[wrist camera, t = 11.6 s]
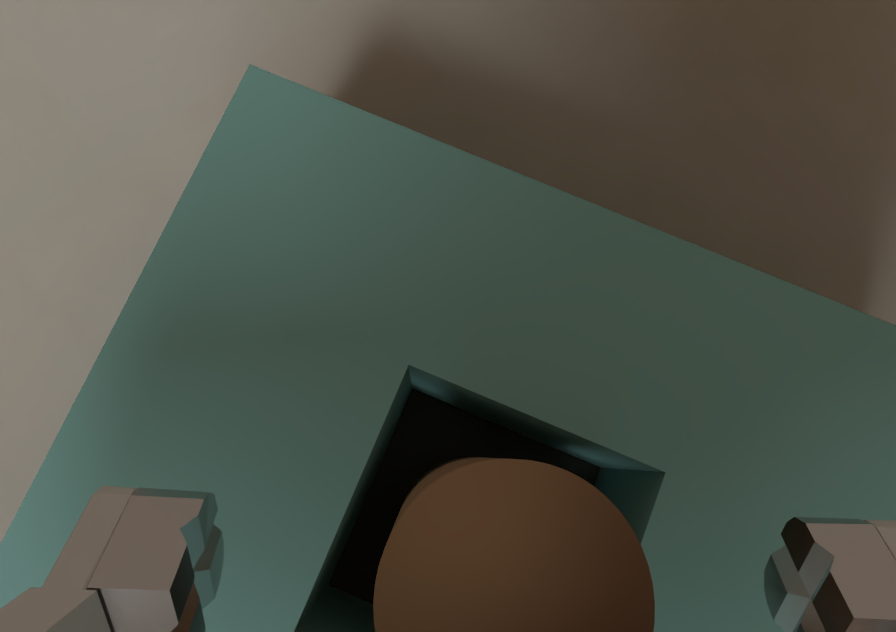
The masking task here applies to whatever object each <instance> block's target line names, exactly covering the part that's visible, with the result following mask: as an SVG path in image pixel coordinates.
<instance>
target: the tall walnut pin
mask: <svg viewBox="0 0 896 632" xmlns="http://www.w3.org/2000/svg"><path fill="white" fill-rule="evenodd" d="M373 611H374V626H375V632H653V630H654V623H655V599H654V590H653V582H652V578H651V574H650V570H649V565H648V562H647V560H646V557H645V554H644V551H643V549H642V546H641V544H640V542H639V540H638V538H637V536H636V535H635V533H634V531H633V529H632V527H631V526H630V525H629V523H628V522H627V520H626V519H625V517H624V516H623V514H622V513H621V512H620V511H619V510H618V509H617V507H616V506H615V505H614V504H613V503H612V502H611V501H610V500H609V499H608V498H607V497H606V496H605V495H604V494H603V493H601V492H600V491H599V490H598V489H597V488H596V487H594V486H593V485H591V484H590V483H588V482H587V481H585V480H584V479H582V478H581V477H579V476H577V475H575V474H573V473H571V472H569V471H567V470H565V469H562V468H559V467H556V466H553V465H550V464H547V463H542V462H537V461H532V460H520V459H503V458H482V457H455V458H450V459H446V460H444V461H441V462H439V463H437V464H435V465H433V466H431V467H430V468H428V469H427V470H425V471H424V472H423V473H422V474H421V475H420V476H419V477H418V478H417V479H416V481H415V482H414V483H413V485H412V486H411V488H410V489H409V491H408V493H407V495H406V497H405V500H404V502H403V505H402V507H401V510H400V512H399V514H398V517H397V519H396V522H395V524H394V526H393V529H392V531H391V534H390V536H389V539H388V541H387V543H386V546H385V549H384V552H383V554H382V557H381V560H380V563H379V567H378V571H377V576H376V581H375V588H374V600H373Z"/></svg>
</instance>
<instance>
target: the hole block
mask: <svg viewBox="0 0 896 632" xmlns="http://www.w3.org/2000/svg"><path fill="white" fill-rule="evenodd" d="M412 388H413V389H415V390H417V391H420V392H422V393H424V394H427V395H429V396H432V397H434V398H436V399H439V400H441V401H444V402H446V403H448V404H451V405H453V406H455V407H458V408H460V409H463V410H465V411H467V412H470V413H472V414H474V415H477V416H479V417H482V418H484V419H486V420H489V421H491V422H493V423H496V424H498V425H501V426H503V427H505V428H508V429H510V430H512V431H515V432H517V433H520V434H522V435H524V436H527V437H529V438H531V439H534V440H536V441H539V442H541V443H543V444H546V445H548V446H550V447H553V448H555V449H558V450H560V451H562V452H565V453H567V454H569V455H572V456H574V457H577V458H579V459H581V460H584V461H586V462H588V463H591V464H593V465H596V466H598V467H600V471H599V473H598V476H597V479H596V481H595V484H594V487H596V488H597V489H598V490H599V491H600V492H601V493H603V494H604V495H605V496H606V497H607V498H608V499H609V500H610V501H611V502H612V503H613V504H614V505H615V506H616V507H617V509H618V510H619V511H620V512H621V513H622V514H623V516H624V517H625V519H626V520H627V522H628V523H629V525H630V526H631V527H632V529H633V531H634V533H635V535H636V536H637V538H638V540H639V542H640V544H641V546H642V549H643V551H644V554H645V557H646V560H647V562H648V565H649V570H650V574H651V578H652V582H653V590H654V599H655V623H654V630H653V632H785V631H784V630H783V629H782V628H781V627H780V626H779V625H778V624H777V623H776V622H774V621H773V618H772V616H771V613H770V610H769V608H768V605H767V602H766V597H765V592H764V570H765V567H766V565H767V562H768V560H769V558H770V555H771V554H772V553H774V552H775V551H777V550H778V549H780V548H781V547H783V546H785V542H784V540H783V538H782V536H781V532H782V530H783V528H784V526H785V524H786V522H787V521H789V520H790V519H792V518H793V517H817V518H849V519H861V520H888V521H896V326H895V325H893V324H890V323H888V322H885V321H883V320H880V319H878V318H875V317H873V316H870V315H868V314H866V313H863V312H861V311H858V310H856V309H853V308H851V307H848V306H846V305H843V304H841V303H838V302H836V301H833V300H831V299H828V298H826V297H824V296H821V295H819V294H816V293H814V292H811V291H809V290H806V289H804V288H801V287H799V286H796V285H794V284H791V283H789V282H786V281H784V280H782V279H779V278H777V277H774V276H772V275H769V274H767V273H764V272H762V271H759V270H757V269H754V268H752V267H749V266H747V265H744V264H742V263H740V262H737V261H735V260H732V259H730V258H727V257H725V256H722V255H720V254H717V253H715V252H712V251H710V250H707V249H705V248H702V247H700V246H698V245H695V244H693V243H690V242H688V241H685V240H683V239H680V238H678V237H675V236H673V235H670V234H668V233H665V232H663V231H660V230H658V229H656V228H653V227H651V226H648V225H646V224H643V223H641V222H638V221H636V220H633V219H631V218H628V217H626V216H623V215H621V214H618V213H616V212H614V211H611V210H609V209H606V208H604V207H601V206H599V205H596V204H594V203H591V202H589V201H586V200H584V199H581V198H579V197H577V196H574V195H572V194H569V193H567V192H564V191H562V190H559V189H557V188H554V187H552V186H549V185H547V184H544V183H542V182H539V181H537V180H535V179H532V178H530V177H527V176H525V175H522V174H520V173H517V172H515V171H512V170H510V169H507V168H505V167H502V166H500V165H497V164H495V163H493V162H490V161H488V160H485V159H483V158H480V157H478V156H475V155H473V154H470V153H468V152H465V151H463V150H460V149H458V148H455V147H453V146H451V145H448V144H446V143H443V142H441V141H438V140H436V139H433V138H431V137H428V136H426V135H423V134H421V133H418V132H416V131H413V130H411V129H409V128H406V127H404V126H401V125H399V124H396V123H394V122H391V121H389V120H386V119H384V118H381V117H379V116H376V115H374V114H371V113H369V112H367V111H364V110H362V109H359V108H357V107H354V106H352V105H349V104H347V103H344V102H342V101H339V100H337V99H334V98H332V97H329V96H327V95H325V94H322V93H320V92H317V91H315V90H312V89H310V88H307V87H305V86H302V85H300V84H297V83H295V82H292V81H290V80H287V79H285V78H283V77H280V76H278V75H275V74H273V73H270V72H268V71H265V70H263V69H260V68H258V67H255V66H253V65H249V67H248V69H247V71H246V73H245V74H244V76H243V78H242V80H241V82H240V84H239V86H238V88H237V90H236V92H235V94H234V96H233V98H232V100H231V101H230V103H229V105H228V107H227V109H226V111H225V113H224V115H223V117H222V119H221V121H220V123H219V125H218V126H217V128H216V130H215V132H214V134H213V136H212V138H211V140H210V142H209V144H208V146H207V148H206V150H205V152H204V153H203V155H202V157H201V159H200V161H199V163H198V165H197V167H196V169H195V171H194V173H193V175H192V177H191V178H190V180H189V182H188V184H187V186H186V188H185V190H184V192H183V194H182V196H181V198H180V200H179V202H178V204H177V205H176V207H175V209H174V211H173V213H172V215H171V217H170V219H169V221H168V223H167V225H166V227H165V229H164V230H163V232H162V234H161V236H160V238H159V240H158V242H157V244H156V246H155V248H154V250H153V252H152V254H151V256H150V257H149V259H148V261H147V263H146V265H145V267H144V269H143V271H142V273H141V275H140V277H139V279H138V281H137V282H136V284H135V286H134V288H133V290H132V292H131V294H130V296H129V298H128V300H127V302H126V304H125V306H124V308H123V309H122V311H121V313H120V315H119V317H118V319H117V321H116V323H115V325H114V327H113V329H112V331H111V333H110V334H109V336H108V338H107V340H106V342H105V344H104V346H103V348H102V350H101V352H100V354H99V356H98V358H97V360H96V361H95V363H94V365H93V367H92V369H91V371H90V373H89V375H88V377H87V379H86V381H85V383H84V385H83V386H82V388H81V390H80V392H79V394H78V396H77V398H76V400H75V402H74V404H73V406H72V408H71V410H70V412H69V413H68V415H67V417H66V419H65V421H64V423H63V425H62V427H61V429H60V431H59V433H58V435H57V437H56V438H55V440H54V442H53V444H52V446H51V448H50V450H49V452H48V454H47V456H46V458H45V460H44V462H43V464H42V465H41V467H40V469H39V471H38V473H37V475H36V477H35V479H34V481H33V483H32V485H31V487H30V489H29V491H28V492H27V494H26V496H25V498H24V500H23V502H22V504H21V506H20V508H19V510H18V512H17V514H16V516H15V517H14V519H13V521H12V523H11V525H10V527H9V529H8V531H7V533H6V535H5V537H4V539H3V541H2V543H1V544H0V609H1V608H2V607H4V606H5V605H6V604H8V603H9V602H11V601H12V600H13V599H15V598H16V597H18V596H19V595H20V594H22V593H23V592H24V591H26V590H27V589H29V588H30V587H37V588H42V586H43V584H44V582H45V580H46V578H47V577H48V575H49V573H50V571H51V569H52V567H53V566H54V564H55V562H56V560H57V558H58V557H59V555H60V553H61V551H62V549H63V547H64V546H65V544H66V542H67V540H68V538H69V536H70V535H71V533H72V531H73V529H74V527H75V525H76V524H77V522H78V520H79V518H80V516H81V514H82V513H83V511H84V509H85V507H86V505H87V503H88V502H89V500H90V498H91V496H92V495H93V494H94V493H95V492H96V491H97V490H98V489H99V488H100V487H101V486H118V487H135V488H139V487H140V488H154V489H169V490H183V491H198V492H210V493H214V494H215V499H216V503H217V507H218V511H217V514H216V517H215V520H214V523H213V524H214V525H215V526H217V527H218V528H219V529H220V530H221V531H222V535H223V541H224V561H223V567H222V574H221V580H220V583H219V587H218V590H217V593H216V597H215V599H214V600H213V601H212V602H210V603H209V604H208V605H207V606H206V607H205V608H204V609H203V610H202V612H203V616H204V621H205V626H206V629H205V632H375V626H374V611H373V604H370V603H368V602H366V601H364V600H361V599H359V598H357V597H354V596H352V595H350V594H347V593H345V592H343V591H341V590H338V589H336V588H334V587H331V586H329V583H330V581H331V578H332V576H333V573H334V571H335V569H336V566H337V564H338V562H339V559H340V557H341V555H342V552H343V550H344V548H345V545H346V543H347V541H348V538H349V536H350V534H351V531H352V529H353V527H354V524H355V522H356V519H357V517H358V515H359V512H360V510H361V508H362V505H363V503H364V501H365V498H366V496H367V494H368V491H369V489H370V487H371V484H372V482H373V480H374V477H375V475H376V473H377V470H378V468H379V466H380V463H381V461H382V458H383V456H384V454H385V451H386V449H387V447H388V444H389V442H390V440H391V437H392V435H393V433H394V430H395V428H396V426H397V423H398V421H399V419H400V416H401V414H402V412H403V409H404V407H405V404H406V402H407V400H408V397H409V395H410V393H411V390H412Z"/></svg>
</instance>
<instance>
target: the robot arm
mask: <svg viewBox="0 0 896 632" xmlns="http://www.w3.org/2000/svg"><path fill="white" fill-rule="evenodd" d="M217 511H218V507H217V503H216V499H215V494H214V493H210V492H198V491H183V490H169V489H154V488H140V487H139V488H135V487H118V486H101V487H100V488H99V489H98V490H97V491H96V492H95V493H94V494H93V495H92V496H91V498H90V500H89V502H88V503H87V505H86V507H85V509H84V511H83V513H82V514H81V516H80V518H79V520H78V522H77V524H76V525H75V527H74V529H73V531H72V533H71V535H70V536H69V538H68V540H67V542H66V544H65V546H64V547H63V549H62V551H61V553H60V555H59V557H58V558H57V560H56V562H55V564H54V566H53V567H52V569H51V571H50V573H49V575H48V577H47V578H46V580H45V582H44V584H43V586H42V588H37V587H30V588H29V589H27V590H26V591H24V592H23V593H22V594H20V595H19V596H18V597H16V598H15V599H13V600H12V601H11V602H9V603H8V604H6V605H5V606H4V607H2V608H1V609H0V632H205V629H206V626H205V621H204V616H203V612H202V610H203V609H204V608H205V607H206V606H207V605H208V604H209V603H210V602H212V601H213V600H214V599H215V597H216V593H217V590H218V587H219V583H220V580H221V574H222V567H223V561H224V541H223V535H222V531H221V530H220V529H219V528H218V527H217V526H215V525H214V524H213V523H214V520H215V517H216V514H217ZM781 536H782V538H783V540H784V542H785V546H783V547H781V548H780V549H778V550H777V551H775V552H774V553H772V554H771V555H770V558H769V560H768V562H767V565H766V567H765V570H764V592H765V597H766V602H767V605H768V608H769V610H770V613H771V616H772V618H773V621H774V622H776V623H777V624H778V625H779V626H780V627H781V628H782V629H783V630H784V631H785V632H896V521H888V520H861V519H849V518H817V517H793V518H792V519H790V520H789V521H787V522H786V524H785V526H784V528H783V530H782V532H781Z"/></svg>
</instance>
